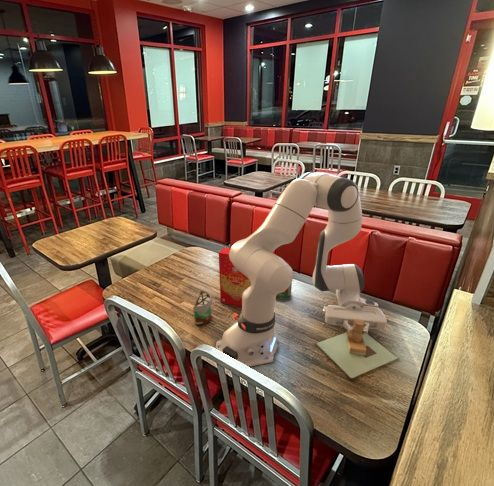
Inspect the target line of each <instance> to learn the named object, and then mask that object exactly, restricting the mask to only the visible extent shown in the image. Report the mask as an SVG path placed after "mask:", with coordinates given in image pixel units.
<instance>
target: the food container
mask: <svg viewBox="0 0 494 486" xmlns="http://www.w3.org/2000/svg"><path fill="white" fill-rule="evenodd" d="M212 305H213V298H212V296H211V294H210V293H209V292H208V291H206V290H201V289H200V291H199V296H198V298H197V299H196V302H195V305H194V306H193V309H192V311H193V313H194V321H195V326H204V325H206V324H208V323H209V322H210V321H211V318H212V317H211V316H212V315H211V313H212Z"/></svg>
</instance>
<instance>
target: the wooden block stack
mask: <svg viewBox="0 0 494 486" xmlns="http://www.w3.org/2000/svg"><path fill="white" fill-rule="evenodd" d="M364 324H365V322H364V321H363V320H362V319H355V320H354V325H353V329H354V331H353V333H348V330H347V329H346V330H345V333H346V335H345V336H346V340H347V345H348V349H349V353H350V354H358V355H365V354H366V347H365V344H364V340H363V337H362V334H363V329H364Z"/></svg>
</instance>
